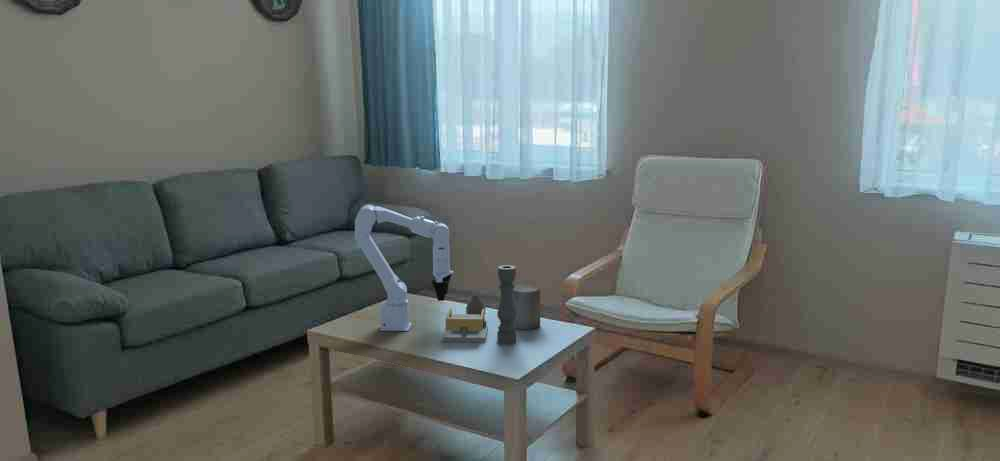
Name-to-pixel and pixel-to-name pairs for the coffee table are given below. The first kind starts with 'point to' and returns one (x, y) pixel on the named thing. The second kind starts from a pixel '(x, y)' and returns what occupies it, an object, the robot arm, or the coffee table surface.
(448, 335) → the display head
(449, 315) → the tan bracket frame
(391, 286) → the robot arm
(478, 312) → the vase
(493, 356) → the coffee table surface
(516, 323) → the pillar candle
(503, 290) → the candle holder
